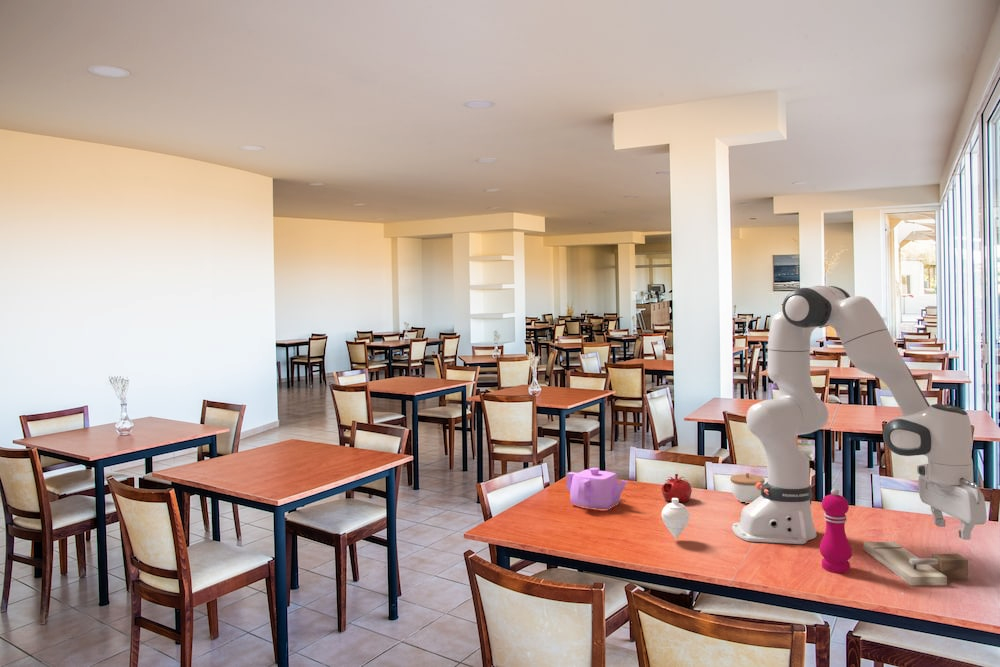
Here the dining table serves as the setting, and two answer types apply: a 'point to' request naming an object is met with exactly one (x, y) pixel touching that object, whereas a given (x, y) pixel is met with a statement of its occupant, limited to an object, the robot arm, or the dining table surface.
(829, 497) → the pepper mill
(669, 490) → the pomegranate
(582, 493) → the teakettle
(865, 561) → the dining table surface
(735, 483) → the lidded jar
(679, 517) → the spinning top
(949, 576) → the gauge
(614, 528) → the dining table surface
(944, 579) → the plank
